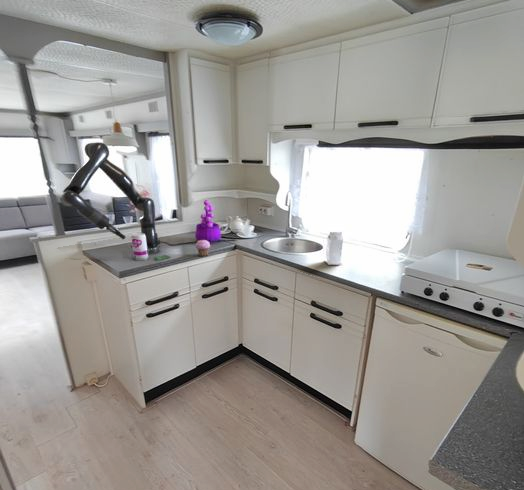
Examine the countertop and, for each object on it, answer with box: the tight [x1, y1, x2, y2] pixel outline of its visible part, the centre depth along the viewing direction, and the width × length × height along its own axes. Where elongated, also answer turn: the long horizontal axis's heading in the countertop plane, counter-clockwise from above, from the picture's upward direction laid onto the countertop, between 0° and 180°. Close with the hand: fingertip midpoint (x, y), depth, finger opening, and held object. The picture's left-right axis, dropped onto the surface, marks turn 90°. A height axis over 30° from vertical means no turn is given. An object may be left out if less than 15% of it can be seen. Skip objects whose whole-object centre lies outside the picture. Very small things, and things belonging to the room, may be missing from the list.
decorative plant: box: [194, 199, 222, 244], centre depth 232 cm, size 19×19×30 cm
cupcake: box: [195, 240, 211, 257], centre depth 205 cm, size 9×9×10 cm
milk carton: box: [325, 231, 344, 266], centre depth 192 cm, size 7×7×19 cm
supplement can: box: [130, 232, 149, 261], centre depth 196 cm, size 8×8×15 cm
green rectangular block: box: [153, 254, 170, 261], centre depth 199 cm, size 8×4×1 cm, turn 136°
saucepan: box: [130, 244, 160, 255], centre depth 212 cm, size 19×11×4 cm, turn 76°
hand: (124, 237), depth 189 cm, fingers closed
